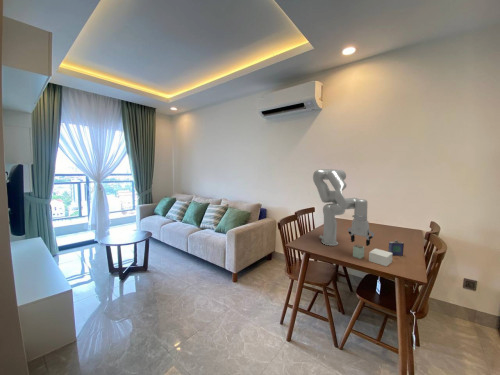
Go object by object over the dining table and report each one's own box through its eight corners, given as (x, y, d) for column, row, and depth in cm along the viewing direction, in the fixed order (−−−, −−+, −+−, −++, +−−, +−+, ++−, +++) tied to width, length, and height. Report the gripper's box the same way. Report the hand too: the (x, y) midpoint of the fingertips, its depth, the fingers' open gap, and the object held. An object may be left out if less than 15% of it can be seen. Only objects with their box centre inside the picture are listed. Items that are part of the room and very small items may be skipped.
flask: (389, 255, 143) (390, 240, 142) (386, 253, 146) (387, 238, 145) (403, 256, 142) (405, 240, 141) (401, 254, 145) (402, 239, 144)
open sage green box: (352, 256, 142) (353, 245, 141) (356, 254, 145) (356, 243, 144) (360, 258, 138) (360, 247, 137) (363, 256, 141) (364, 245, 140)
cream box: (368, 261, 135) (369, 252, 134) (374, 257, 141) (375, 248, 141) (386, 266, 127) (387, 257, 127) (392, 262, 134) (392, 253, 133)
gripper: (345, 216, 143) (344, 241, 144) (372, 221, 129) (371, 248, 131) (350, 215, 148) (350, 239, 149) (377, 219, 134) (376, 245, 135)
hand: (360, 243), depth 140 cm, fingers open, 9 cm apart
